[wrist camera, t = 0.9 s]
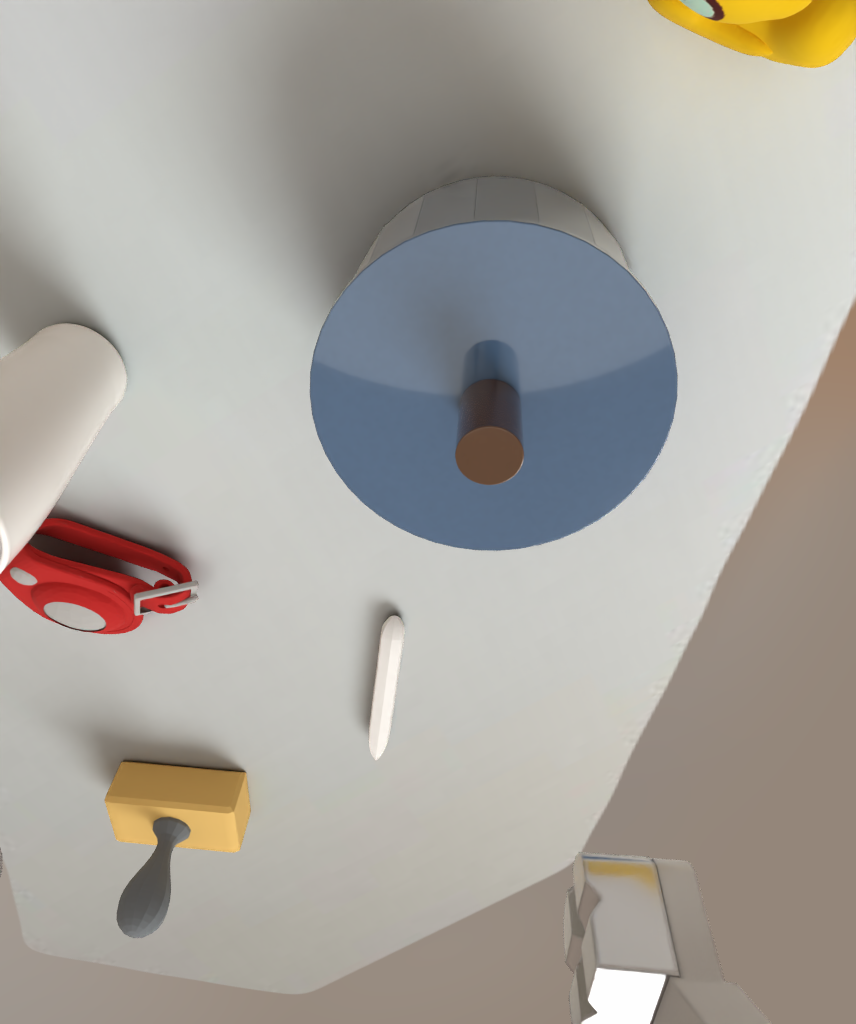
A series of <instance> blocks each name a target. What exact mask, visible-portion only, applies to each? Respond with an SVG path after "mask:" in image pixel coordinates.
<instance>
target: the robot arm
mask: <svg viewBox="0 0 856 1024" xmlns="http://www.w3.org/2000/svg"><path fill="white" fill-rule="evenodd" d="M1 873H2V852H1V849H0V876H1ZM573 878H574V886H573V887H571V888H570V889H568V891H567V896H566V902H565V908H564V923H563V930H564V931H563V933H564V950H565V963H566V964H567V965H568V967H569V968H570V970H571V971H572V972H573V973H574V978H573V982H572V986H571V990H570V994H569V1002H570V1003H569V1004H570V1013H571V1023H572V1024H772V1023H771V1022H770V1021H769V1019H768V1018H767V1017H766V1016H765V1015H764V1014H763V1013H762V1011H761V1010H760V1009H759V1008H758V1007H757V1006H756V1005H755V1003H754V1002H753V1001H752V1000H751V999H750V998H749V997H748V995H747V994H746V993H745V992H744V991H743V990H742V989H741V987H740V986H739V985H738V984H737V983H732V982H725V979H724V976H723V972H722V968H721V964H720V961H719V957H718V953H717V949H716V946H715V942H714V938H713V935H712V931H711V927H710V924H709V920H708V917H707V913H706V909H705V905H704V901H703V898H702V894H701V890H700V886H699V883H698V879H697V875H696V872H695V869H694V867H693V866H692V864H691V863H690V862H689V861H684V860H669V859H654V858H653V859H651V858H650V857H643V856H628V855H612V854H598V853H597V854H596V853H583V852H579V853H578V854H577V855H576V857H575V861H574V865H573Z"/></svg>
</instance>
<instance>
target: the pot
mask: <svg viewBox="0 0 856 1024" xmlns="http://www.w3.org/2000/svg"><path fill="white" fill-rule="evenodd" d="M500 216H509V217H516V218H524V219H531V220H537V221H541V222H544V223H548V224H552V225H555V226H559V227H562V228H564V229H567V230H569V231H571V232H574V233H576V234H578V235H581V236H583V237H585V238H587V239H589V240H590V241H592V242H593V243H595V244H597V245H598V246H600V247H602V248H603V249H605V250H607V251H608V252H609V253H610V254H612V255H613V256H614V257H615V258H616V259H618V260H619V261H620V262H621V263H623V264H624V265H625V266H626V267H627V268H628V265H627V263H626V260H625V258H624V255H623V253H622V250H621V248H620V245H619V243H618V242H617V240H616V239H615V238H614V237H613V236H612V235H611V234H610V233H609V231H608V230H607V228H606V227H605V226H604V225H603V224H602V223H601V222H600V221H599V219H598V218H597V217H596V216H595V215H594V214H593V213H591V212H590V211H589V210H588V209H587V208H586V207H585V206H584V205H582V204H581V203H580V202H578V201H576V200H575V199H573V198H571V197H570V196H568V195H566V194H565V193H563V192H561V191H559V190H556V189H554V188H552V187H550V186H547V185H545V184H542V183H538V182H535V181H531V180H527V179H522V178H514V177H506V176H485V177H478V178H471V179H464V180H461V181H457V182H454V183H451V184H447V185H444V186H442V187H440V188H437V189H435V190H433V191H431V192H428V193H426V194H424V195H423V196H422V197H420V198H418V199H417V200H415V201H413V202H412V203H410V204H409V205H408V206H407V207H405V208H404V209H403V210H402V211H401V212H399V213H398V214H397V215H396V216H395V217H394V218H393V219H392V220H391V221H390V222H389V223H387V224H386V225H385V226H384V227H383V228H382V230H381V231H380V233H379V235H378V236H377V238H376V240H375V241H374V243H373V244H372V245H371V247H370V249H369V251H368V253H367V255H366V256H365V258H364V260H363V262H362V263H361V265H360V267H359V268H358V270H357V273H358V272H359V271H360V270H361V269H362V268H363V267H364V266H365V265H366V264H368V263H369V262H370V261H371V260H372V259H374V258H375V257H376V256H377V255H379V254H380V253H381V252H382V251H384V250H385V249H387V248H389V247H390V246H392V245H394V244H395V243H397V242H399V241H400V240H402V239H404V238H406V237H408V236H410V235H413V234H415V233H417V232H419V231H422V230H424V229H426V228H429V227H432V226H436V225H439V224H443V223H447V222H450V221H454V220H460V219H467V218H475V217H500ZM628 269H629V268H628ZM357 273H356V274H357Z"/></svg>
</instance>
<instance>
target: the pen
mask: <svg viewBox="0 0 856 1024" xmlns="http://www.w3.org/2000/svg"><path fill="white" fill-rule="evenodd" d="M404 636H405V628H404V625H403V622H402V620H401V619H400V617H398V616H390V617H389V618H388V619H387V620H386V621H385V623H384V624H383V626H382V629H381V636H380V644H379V652H378V660H377V668H376V676H375V684H374V692H373V700H372V708H371V716H370V724H369V747H370V751H371V754H372V756H373V757H374V759H375V760H377V759H378V758H379V757H380V756H381V755H382V753H383V752H384V750H385V747H386V745H387V742H388V739H389V735H390V731H391V724H392V718H393V711H394V704H395V697H396V691H397V684H398V677H399V670H400V664H401V657H402V650H403V643H404Z"/></svg>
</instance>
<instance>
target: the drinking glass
mask: <svg viewBox="0 0 856 1024" xmlns="http://www.w3.org/2000/svg"><path fill="white" fill-rule="evenodd" d="M126 386H127V373H126V369H125V365H124V363H123V360H122V358H121V356H120V355H119V353H118V352H117V350H116V349H115V348H114V346H113V345H112V344H111V343H110V342H109V341H108V340H107V339H105V338H104V337H103V336H101V335H100V334H98V333H97V332H95V331H93V330H91V329H89V328H87V327H84V326H81V325H77V324H69V323H61V324H55V325H51V326H48V327H46V328H44V329H42V330H41V331H39V332H38V333H36V334H35V335H34V336H33V337H32V338H30V339H29V340H28V341H27V342H26V343H24V344H23V345H21V346H20V347H18V348H17V349H15V350H14V351H12V352H11V353H9V354H7V355H6V356H4V357H3V358H1V359H0V574H1V573H2V571H3V570H4V569H5V568H6V567H7V566H8V565H9V563H10V562H11V561H12V560H13V559H14V558H15V557H16V556H17V555H18V553H19V552H20V551H21V550H22V549H23V548H24V546H25V545H26V544H27V543H28V542H29V540H30V539H31V538H32V537H33V535H34V534H35V533H36V532H37V530H38V529H39V528H40V526H41V525H42V524H43V522H44V521H45V519H46V518H47V517H48V515H49V514H50V512H51V511H52V509H53V507H54V506H55V504H56V503H57V501H58V499H59V498H60V496H61V494H62V493H63V491H64V489H65V488H66V486H67V484H68V483H69V481H70V479H71V478H72V476H73V474H74V473H75V471H76V469H77V468H78V466H79V464H80V463H81V461H82V459H83V458H84V456H85V454H86V453H87V451H88V449H89V448H90V446H91V444H92V443H93V441H94V439H95V438H96V436H97V435H98V433H99V431H100V430H101V428H102V426H103V425H104V423H105V422H106V420H107V418H108V417H109V415H110V414H111V413H112V412H113V410H114V409H115V408H116V407H117V405H118V404H119V403H120V401H121V400H122V398H123V396H124V394H125V391H126Z"/></svg>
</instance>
